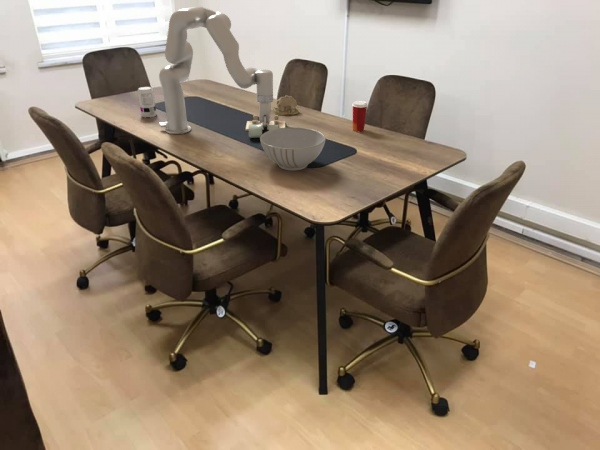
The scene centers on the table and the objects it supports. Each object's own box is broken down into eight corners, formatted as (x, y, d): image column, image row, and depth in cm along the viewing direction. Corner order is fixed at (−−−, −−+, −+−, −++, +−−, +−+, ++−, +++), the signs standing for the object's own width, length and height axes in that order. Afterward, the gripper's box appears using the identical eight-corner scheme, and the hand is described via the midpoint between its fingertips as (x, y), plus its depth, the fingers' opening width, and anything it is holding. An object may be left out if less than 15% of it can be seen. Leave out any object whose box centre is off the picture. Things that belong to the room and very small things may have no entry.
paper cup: (367, 129, 237) (369, 101, 230) (363, 133, 231) (365, 105, 224) (353, 127, 240) (355, 99, 233) (348, 131, 234) (349, 103, 227)
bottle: (248, 139, 222) (248, 126, 219) (249, 134, 227) (249, 122, 224) (289, 139, 222) (289, 127, 219) (289, 135, 228) (289, 123, 225)
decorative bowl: (274, 182, 180) (273, 152, 174) (252, 158, 202) (251, 131, 196) (335, 171, 190) (337, 143, 184) (308, 150, 211) (309, 124, 205)
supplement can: (138, 117, 255) (133, 89, 247) (148, 113, 261) (143, 85, 254) (150, 118, 252) (146, 90, 244) (160, 114, 259) (155, 87, 251)
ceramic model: (294, 109, 269) (294, 91, 264) (301, 114, 260) (301, 96, 255) (271, 111, 265) (270, 93, 260) (277, 116, 256) (277, 98, 251)
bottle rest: (245, 130, 234) (245, 122, 232) (247, 122, 246) (246, 114, 243) (285, 130, 235) (285, 121, 233) (285, 122, 246) (285, 114, 244)
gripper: (257, 93, 222) (258, 129, 231) (256, 102, 207) (257, 141, 216) (273, 93, 223) (273, 129, 232) (272, 103, 208) (273, 141, 217)
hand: (265, 135), depth 224 cm, fingers closed on bottle, 6 cm apart
